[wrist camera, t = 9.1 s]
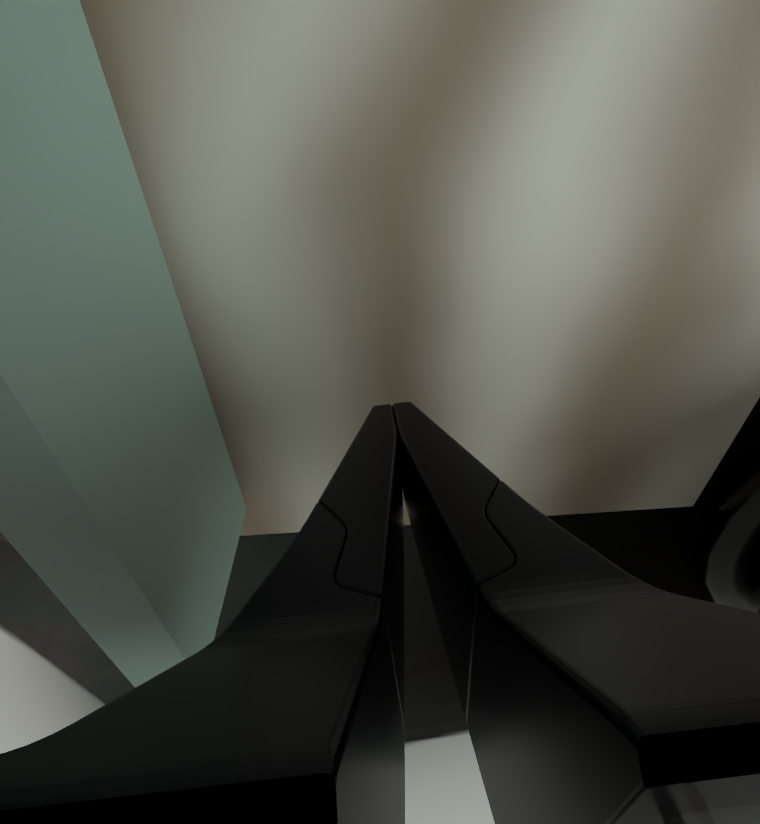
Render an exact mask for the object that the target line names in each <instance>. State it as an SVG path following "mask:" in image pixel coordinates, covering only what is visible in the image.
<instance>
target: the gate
mask: <svg viewBox="0 0 760 824" xmlns="http://www.w3.org/2000/svg"><path fill="white" fill-rule="evenodd" d="M245 512H246V505H245V502H244V499H243V496H242V493H241V490H240V487H239V484H238V481H237V478H236V475H235V472H234V469H233V466H232V463H231V460H230V457H229V454H228V451H227V448H226V444H225V441H224V438H223V435H222V432H221V429H220V426H219V423H218V420H217V417H216V414H215V411H214V408H213V405H212V402H211V399H210V396H209V393H208V390H207V387H206V384H205V381H204V378H203V374H202V371H201V368H200V365H199V362H198V359H197V356H196V353H195V350H194V347H193V344H192V341H191V338H190V335H189V332H188V329H187V326H186V323H185V320H184V317H183V314H182V311H181V308H180V304H179V301H178V298H177V295H176V292H175V289H174V286H173V283H172V280H171V277H170V274H169V271H168V268H167V265H166V262H165V259H164V256H163V253H162V250H161V247H160V244H159V241H158V238H157V234H156V231H155V228H154V225H153V222H152V219H151V216H150V213H149V210H148V207H147V204H146V201H145V198H144V195H143V192H142V189H141V186H140V183H139V180H138V177H137V174H136V171H135V168H134V164H133V161H132V158H131V155H130V152H129V149H128V146H127V143H126V140H125V137H124V134H123V131H122V128H121V125H120V122H119V119H118V116H117V113H116V110H115V107H114V104H113V101H112V97H111V94H110V91H109V88H108V85H107V82H106V79H105V76H104V73H103V70H102V67H101V64H100V61H99V58H98V55H97V52H96V49H95V46H94V43H93V40H92V37H91V34H90V31H89V27H88V24H87V21H86V18H85V15H84V12H83V9H82V6H81V3H80V0H0V532H1V533H2V534H3V535H4V537H5V538H6V539H7V540H8V541H9V542H10V544H11V545H12V546H13V547H14V548H15V549H16V551H17V552H18V553H19V554H20V555H21V556H22V557H23V559H24V560H25V561H26V562H27V563H28V564H29V566H30V567H31V568H32V569H33V570H34V571H35V572H36V574H37V575H38V576H39V577H40V578H41V579H42V581H43V582H44V583H45V584H46V585H47V586H48V588H49V589H50V590H51V591H52V592H53V593H54V594H55V596H56V597H57V598H58V599H59V600H60V601H61V603H62V604H63V605H64V606H65V607H66V608H67V609H68V611H69V612H70V613H71V614H72V615H73V616H74V618H75V619H76V620H77V621H78V622H79V623H80V625H81V626H82V627H83V628H84V629H85V630H86V631H87V633H88V634H89V635H90V636H91V637H92V638H93V640H94V641H95V642H96V643H97V644H98V645H99V646H100V648H101V649H102V650H103V651H104V652H105V653H106V655H107V656H108V657H109V658H110V659H111V660H112V662H113V663H114V664H115V665H116V666H117V667H118V668H119V670H120V671H121V672H122V673H123V674H124V675H125V677H126V678H127V679H128V680H129V681H130V682H131V683H132V685H133V686H134V687H135V688H136V687H138V686H139V685H141V684H143V683H144V682H146V681H148V680H150V679H151V678H153V677H155V676H157V675H158V674H160V673H162V672H164V671H165V670H167V669H169V668H171V667H172V666H174V665H176V664H178V663H179V662H181V661H183V660H185V659H186V658H188V657H190V656H192V655H193V654H195V653H197V652H198V651H200V650H202V649H203V648H204V647H206V646H207V645H208V644H210V643H211V642H212V641H213V640H214V637H215V633H216V629H217V625H218V621H219V617H220V613H221V609H222V605H223V601H224V597H225V593H226V589H227V585H228V581H229V577H230V573H231V569H232V565H233V561H234V557H235V553H236V549H237V544H238V540H239V536H240V532H241V528H242V524H243V520H244V516H245Z"/></svg>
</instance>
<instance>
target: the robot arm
mask: <svg viewBox="0 0 760 824" xmlns="http://www.w3.org/2000/svg"><path fill="white" fill-rule="evenodd" d="M402 491H403V492H402ZM403 496H404V501H405V505H406V509H407V513H408V517H409V520H410V524H411V527H412V531H413V534H414V538H415V541H416V545H417V548H418V552H419V556H420V559H421V563H422V566H423V570H424V573H425V577H426V580H427V584H428V587H429V591H430V595H431V598H432V602H433V605H434V609H435V612H436V616H437V619H438V623H439V626H440V630H441V634H442V637H443V641H444V644H445V648H446V651H447V655H448V658H449V662H450V665H451V669H452V673H453V676H454V680H455V683H456V687H457V690H458V694H459V697H460V701H461V704H462V708H463V712H464V715H465V719H466V721H467V726H468V730H469V733H470V736H471V740H472V744H473V747H474V751H475V754H476V758H477V761H478V765H479V769H480V772H481V776H482V779H483V782H484V786H485V790H486V793H487V797H488V800H489V804H490V807H491V811H492V814H493V818H494V821H495V824H760V613H757V612H753V611H749V610H744V609H740V608H735V607H731V606H726V605H722V604H717V603H713V602H708V601H704V600H699V599H695V598H691V597H686V596H682V595H677V594H674V593H670V592H667V591H664V590H661V589H658V588H656V587H654V586H651V585H649V584H647V583H645V582H643V581H641V580H639V579H638V578H636V577H634V576H632V575H631V574H629V573H628V572H626V571H624V570H623V569H621V568H620V567H618V566H617V565H615V564H614V563H613V562H611V561H610V560H608V559H607V558H605V557H604V556H602V555H601V554H600V553H598V552H597V551H595V550H594V549H592V548H591V547H589V546H588V545H587V544H585V543H584V542H582V541H581V540H579V539H578V538H576V537H575V536H574V535H572V534H571V533H569V532H568V531H566V530H565V529H563V528H562V527H561V526H559V525H558V524H556V523H555V522H554V521H552V520H551V519H549V518H548V517H547V516H545V515H544V514H543V513H541V512H540V511H539V510H537V509H536V508H534V507H533V506H532V505H531V504H529V503H528V502H527V501H526V500H525V499H523V498H522V497H521V496H520V495H518V494H517V493H516V492H515V491H514V490H512V489H511V488H510V487H509V486H508V485H507V484H506V483H504V482H503V481H500V479H499V478H498V477H497V476H496V475H495V474H494V473H493V472H491V471H490V470H489V469H488V468H487V467H486V466H485V465H483V464H482V463H481V462H480V461H479V460H478V459H476V458H475V457H474V456H473V455H472V454H471V453H470V452H468V451H467V450H466V449H465V448H464V447H463V446H461V445H460V444H459V443H458V442H457V441H456V440H455V439H453V438H452V437H451V436H450V435H449V434H448V433H446V432H445V431H444V430H443V429H442V428H441V427H440V426H438V425H437V424H436V423H435V422H434V421H433V420H431V419H430V418H429V417H428V416H427V415H426V414H425V413H423V412H422V411H421V410H420V409H419V408H418V407H416V406H415V405H414V404H413V403H412V402H400V403H394V404H393V406H392V405H390V404H383V405H375V406H373V407H372V409H371V411H370V412H369V414H368V416H367V417H366V419H365V421H364V423H363V424H362V426H361V428H360V429H359V431H358V433H357V435H356V436H355V438H354V440H353V442H352V443H351V445H350V447H349V448H348V450H347V452H346V454H345V455H344V457H343V459H342V461H341V462H340V464H339V466H338V467H337V469H336V471H335V473H334V474H333V476H332V478H331V479H330V481H329V483H328V485H327V486H326V488H325V490H324V492H323V493H322V495H321V497H320V498H319V500H318V503H316V505H315V507H314V508H313V510H312V512H311V514H310V515H309V517H308V519H307V520H306V522H305V523H304V525H303V527H302V528H301V530H300V531H299V533H298V535H297V536H296V538H295V539H294V540H293V542H292V543H291V544H290V546H289V547H288V549H287V550H286V551H285V553H284V554H283V555H282V557H281V558H280V560H279V561H278V562H277V564H276V565H275V566H274V567H273V569H272V570H271V571H270V573H269V574H268V575H267V577H266V578H265V579H264V581H263V582H262V583H261V584H260V586H259V587H258V588H257V590H256V591H255V592H254V594H253V595H252V596H251V598H250V599H249V600H248V601H247V603H246V604H245V605H244V607H243V608H242V609H241V611H240V612H239V613H238V615H237V616H236V617H235V618H234V619H233V621H232V622H231V623H230V624H229V625H228V626H227V627H226V629H225V630H224V631H223V632H222V633H221V634H220V635H219V636H218V637H216V638H215V639H214V640H213V641H212V642H211V643H210V644H208V645H207V646H206V647H204V648H203V649H202V650H200V651H198V652H197V653H195V654H193V655H192V656H190V657H188V658H186V659H185V660H183V661H181V662H179V663H178V664H176V665H174V666H172V667H171V668H169V669H167V670H165V671H164V672H162V673H160V674H158V675H157V676H155V677H153V678H151V679H150V680H148V681H146V682H144V683H143V684H141V685H139V686H138V687H136V688H134V689H132V690H131V691H129V692H127V693H125V694H124V695H122V696H120V697H118V698H117V699H115V700H113V701H111V702H110V703H108V704H106V705H104V706H103V707H101V708H99V709H97V710H96V711H94V712H92V713H90V714H89V715H87V716H85V717H84V718H82V719H80V720H78V721H76V722H75V723H73V724H71V725H69V726H67V727H65V728H63V729H62V730H60V731H58V732H56V733H54V734H52V735H50V736H47V737H45V738H43V739H41V740H39V741H36V742H34V743H31V744H29V745H27V746H24V747H21V748H18V749H15V750H12V751H9V752H6V753H2V754H0V824H405V785H404V784H405V776H404V775H405V769H404V768H405V766H404V765H405V763H404V762H405V758H404V757H405V755H404V508H403Z"/></svg>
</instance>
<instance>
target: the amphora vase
mask: <svg viewBox="0 0 760 824" xmlns="http://www.w3.org/2000/svg"><path fill="white" fill-rule="evenodd" d="M692 570H693V573H694V576H695V579H696V582H697V584H698V587H699V590H700V591H701V593H702V594H703V596H704V598H705V599H706V601H708V602H713V603H717V604H722V605H726V606H731V607H735V608H740V609H744V610H749V611H753V612H757V613H760V452H759V453H758V454H757V455H756V456H754V457H753V458H752V459H751V460H750V461H749V463H748V464H747V465H746V466H745V467H744V468H743V469H742V470H741V471H740V472H739V473H738V474H737V476H736V477H735V478H734V479H733V480H732V481H731V482H730V483H729V484H728V485H727V486H726V487H725V489H724V490H723V491H722V492H721V493H720V494H719V495H718V497H717V498H716V500H715V502H714V503H713V505H712V507H711V509H710V510H709V512H708V514H707V515H706V517H705V519H704V520H703V522H702V524H701V525H700V527H699V530H698V535H697V539H696V544H695V549H694V554H693V561H692Z"/></svg>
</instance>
